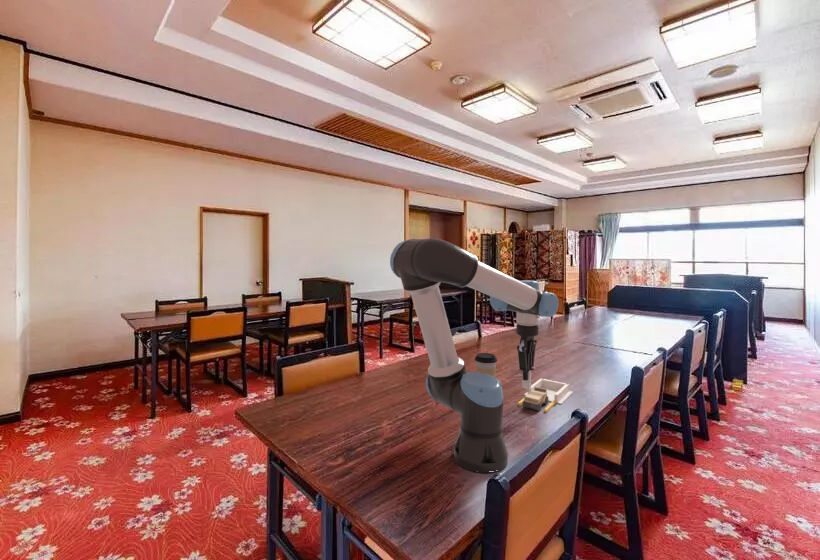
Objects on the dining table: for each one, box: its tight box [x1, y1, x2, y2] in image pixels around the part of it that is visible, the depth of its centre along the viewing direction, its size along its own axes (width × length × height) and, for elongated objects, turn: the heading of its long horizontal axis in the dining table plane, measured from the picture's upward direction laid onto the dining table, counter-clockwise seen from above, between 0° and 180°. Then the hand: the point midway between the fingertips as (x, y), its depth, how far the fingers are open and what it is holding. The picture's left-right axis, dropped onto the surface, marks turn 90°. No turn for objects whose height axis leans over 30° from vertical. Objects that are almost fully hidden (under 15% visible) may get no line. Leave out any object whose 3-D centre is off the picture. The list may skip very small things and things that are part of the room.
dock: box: [517, 377, 574, 413], centre depth 152 cm, size 27×15×3 cm, turn 142°
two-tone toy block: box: [522, 387, 549, 412], centre depth 145 cm, size 11×6×6 cm, turn 142°
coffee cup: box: [474, 352, 498, 378], centre depth 161 cm, size 9×9×15 cm
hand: (526, 387), depth 136 cm, fingers closed
